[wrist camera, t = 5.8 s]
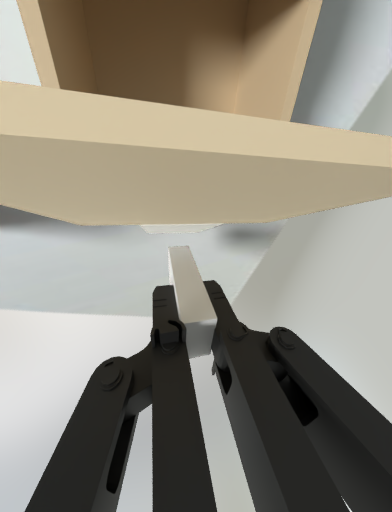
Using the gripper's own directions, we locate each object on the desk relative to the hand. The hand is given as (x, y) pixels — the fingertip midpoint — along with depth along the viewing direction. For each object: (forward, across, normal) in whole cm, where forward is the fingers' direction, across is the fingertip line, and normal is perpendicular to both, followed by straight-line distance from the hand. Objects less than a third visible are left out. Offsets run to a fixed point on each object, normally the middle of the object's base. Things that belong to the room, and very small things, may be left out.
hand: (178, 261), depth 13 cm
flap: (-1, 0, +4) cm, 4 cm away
